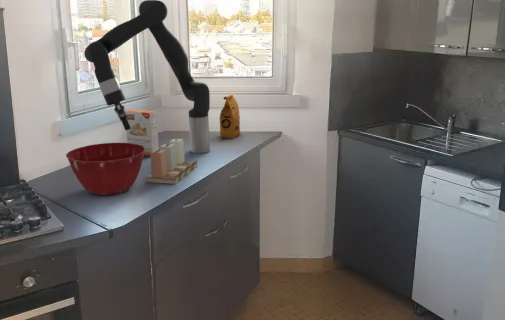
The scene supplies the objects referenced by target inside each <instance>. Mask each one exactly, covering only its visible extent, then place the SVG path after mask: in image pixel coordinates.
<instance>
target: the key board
mask: <svg viewBox="0 0 505 320" xmlns="http://www.w3.org/2000/svg"><path fill="white" fill-rule="evenodd" d="M195 168H196V169H197V168H198V159H195V160H194V161H185V162H183V163H182V164H176V168H175V169H174V170H172V171H169V170H167V175H165V176H164V177H152V173H151V174H149V175H147V176H146V181H147V183H159V184H175V185H177V184H178V183H180V182H181V180H183V179H185V177H187V175H189V174H190V173H192V172H193V171H194V170H195ZM191 171H192V172H191Z"/></svg>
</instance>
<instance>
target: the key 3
mask: <svg viewBox="0 0 505 320" xmlns="http://www.w3.org/2000/svg"><path fill="white" fill-rule="evenodd" d="M149 158H150V167H151V168H150V169H151V174H152V177H164V176H165V175H167V162H166V150H161V149H160V148H159V150H153V151H152V152H150V156H149Z"/></svg>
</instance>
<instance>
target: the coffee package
mask: <svg viewBox="0 0 505 320" xmlns="http://www.w3.org/2000/svg"><path fill="white" fill-rule="evenodd" d="M223 100H224V101H225V102H224V105H223V107H222V109H221V110H220V113H219V128H220V129H219V132H220V135H219V136H220V137H221V138H226V139H235V138H236V137H238V136H240V134H241V123H240V122H241V121H240V108H239V104H238V102H237V100H236V98H235V97H234V95H233V93H229V95H228V96H224V97H223Z"/></svg>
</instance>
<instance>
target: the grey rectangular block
mask: <svg viewBox="0 0 505 320" xmlns="http://www.w3.org/2000/svg"><path fill="white" fill-rule="evenodd" d="M168 142H169V143H168V144H175V155H176V164H182V163H183V162H186V161H185V159H186V158H185V146H184V139H183V138H173V139H171V140H169V141H168Z"/></svg>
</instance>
